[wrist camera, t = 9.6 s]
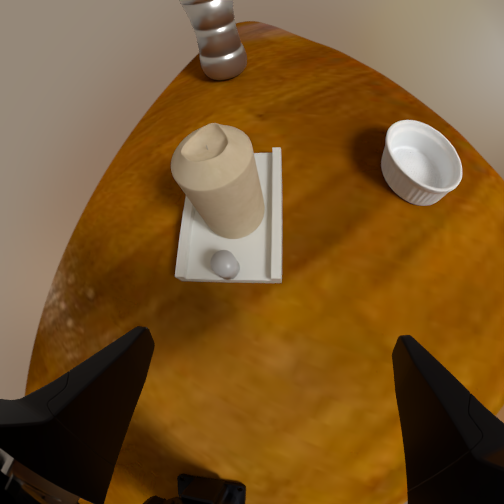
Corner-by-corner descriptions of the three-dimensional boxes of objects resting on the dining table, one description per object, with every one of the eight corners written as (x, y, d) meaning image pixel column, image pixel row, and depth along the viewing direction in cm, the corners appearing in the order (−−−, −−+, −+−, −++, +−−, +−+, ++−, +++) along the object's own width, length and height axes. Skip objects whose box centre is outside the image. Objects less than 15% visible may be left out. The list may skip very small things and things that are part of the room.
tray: (281, 283, 23) (280, 275, 20) (182, 281, 24) (168, 273, 22) (281, 158, 27) (280, 139, 24) (198, 163, 28) (190, 146, 25)
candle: (223, 179, 26) (191, 105, 16) (274, 196, 25) (263, 119, 15) (195, 227, 25) (146, 166, 15) (249, 249, 23) (221, 189, 14)
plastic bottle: (198, 75, 34) (157, -32, 15) (234, 58, 35) (207, -47, 16) (218, 91, 32) (177, -35, 13) (258, 71, 33) (235, -49, 14)
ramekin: (405, 133, 26) (415, 109, 22) (457, 186, 23) (474, 165, 19) (359, 165, 26) (368, 138, 22) (418, 227, 23) (437, 208, 19)
